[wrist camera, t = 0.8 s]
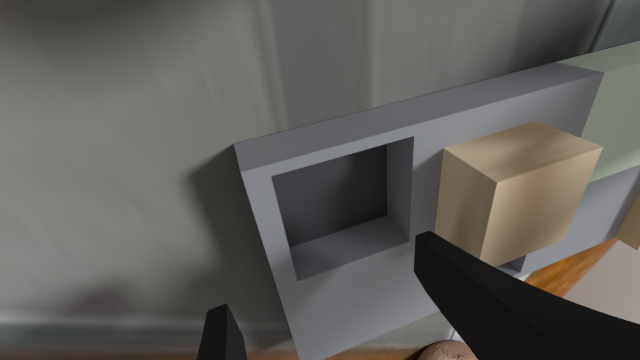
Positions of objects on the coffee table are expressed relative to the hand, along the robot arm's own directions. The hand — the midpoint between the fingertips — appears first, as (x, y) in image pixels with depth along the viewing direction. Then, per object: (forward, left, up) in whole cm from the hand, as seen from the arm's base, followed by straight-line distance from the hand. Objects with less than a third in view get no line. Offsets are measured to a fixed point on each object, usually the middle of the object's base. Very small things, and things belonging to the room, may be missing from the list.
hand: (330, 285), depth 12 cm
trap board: (-11, +3, -5) cm, 13 cm away
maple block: (-9, 0, -3) cm, 9 cm away
